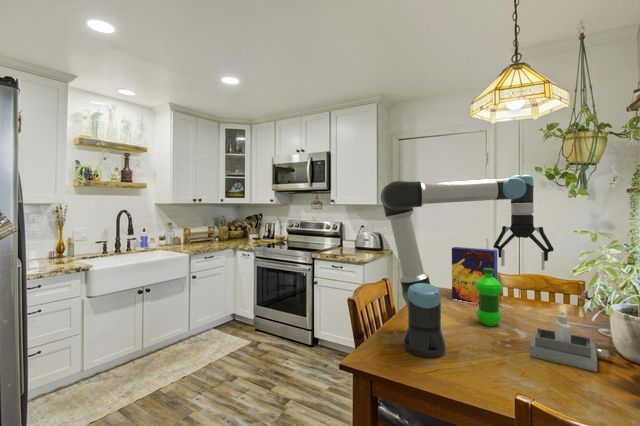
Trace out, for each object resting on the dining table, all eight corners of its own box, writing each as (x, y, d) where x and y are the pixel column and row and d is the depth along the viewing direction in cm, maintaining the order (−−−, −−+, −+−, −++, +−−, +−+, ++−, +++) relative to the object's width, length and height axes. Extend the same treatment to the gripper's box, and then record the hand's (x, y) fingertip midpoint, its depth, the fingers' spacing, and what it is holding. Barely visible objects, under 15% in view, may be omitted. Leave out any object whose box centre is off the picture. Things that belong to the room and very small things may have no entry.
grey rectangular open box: (611, 375, 100) (611, 353, 100) (530, 356, 114) (529, 336, 114) (607, 356, 113) (607, 336, 113) (534, 341, 126) (534, 323, 126)
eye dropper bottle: (554, 347, 112) (554, 313, 112) (554, 341, 116) (554, 308, 116) (570, 350, 109) (570, 315, 109) (570, 344, 114) (570, 311, 114)
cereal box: (452, 300, 182) (451, 247, 182) (455, 298, 187) (455, 246, 186) (494, 308, 167) (494, 250, 167) (497, 305, 172) (497, 249, 171)
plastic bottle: (473, 324, 145) (472, 269, 145) (481, 318, 153) (480, 265, 152) (497, 330, 138) (497, 272, 138) (504, 323, 146) (504, 268, 145)
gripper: (561, 214, 123) (561, 269, 123) (489, 213, 139) (489, 262, 139) (561, 214, 117) (561, 272, 118) (485, 214, 133) (485, 265, 133)
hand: (522, 267), depth 128 cm, fingers open, 13 cm apart
